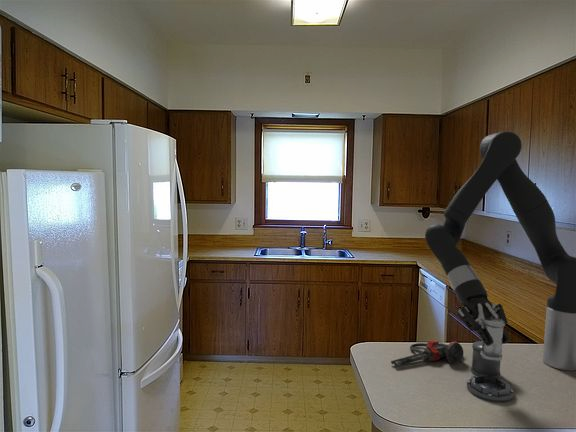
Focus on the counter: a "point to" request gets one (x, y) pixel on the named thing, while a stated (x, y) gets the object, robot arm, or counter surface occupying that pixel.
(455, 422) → the counter surface
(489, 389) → the flange
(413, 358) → the valve
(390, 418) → the counter surface
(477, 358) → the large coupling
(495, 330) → the fitting
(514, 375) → the counter surface
